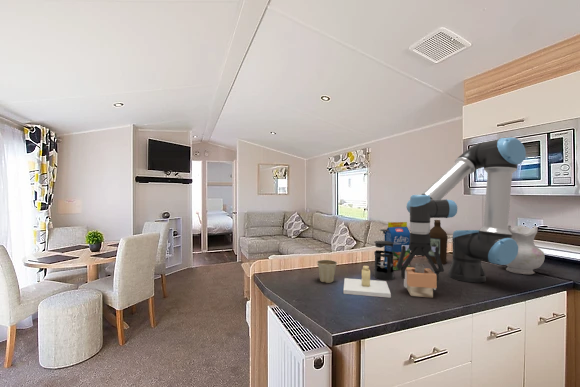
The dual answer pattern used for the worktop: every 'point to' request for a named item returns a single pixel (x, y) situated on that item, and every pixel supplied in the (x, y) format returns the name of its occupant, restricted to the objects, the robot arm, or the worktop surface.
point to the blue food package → (397, 241)
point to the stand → (420, 290)
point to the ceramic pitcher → (525, 251)
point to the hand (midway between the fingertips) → (419, 287)
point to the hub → (366, 286)
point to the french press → (383, 272)
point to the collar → (421, 278)
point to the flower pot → (326, 270)
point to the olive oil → (438, 242)
